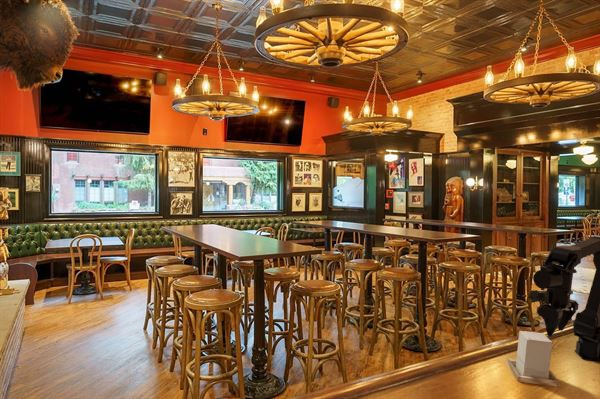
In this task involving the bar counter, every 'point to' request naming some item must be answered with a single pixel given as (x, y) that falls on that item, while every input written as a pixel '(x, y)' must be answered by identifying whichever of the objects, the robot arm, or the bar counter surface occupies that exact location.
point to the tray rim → (540, 381)
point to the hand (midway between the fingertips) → (554, 333)
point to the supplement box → (533, 355)
